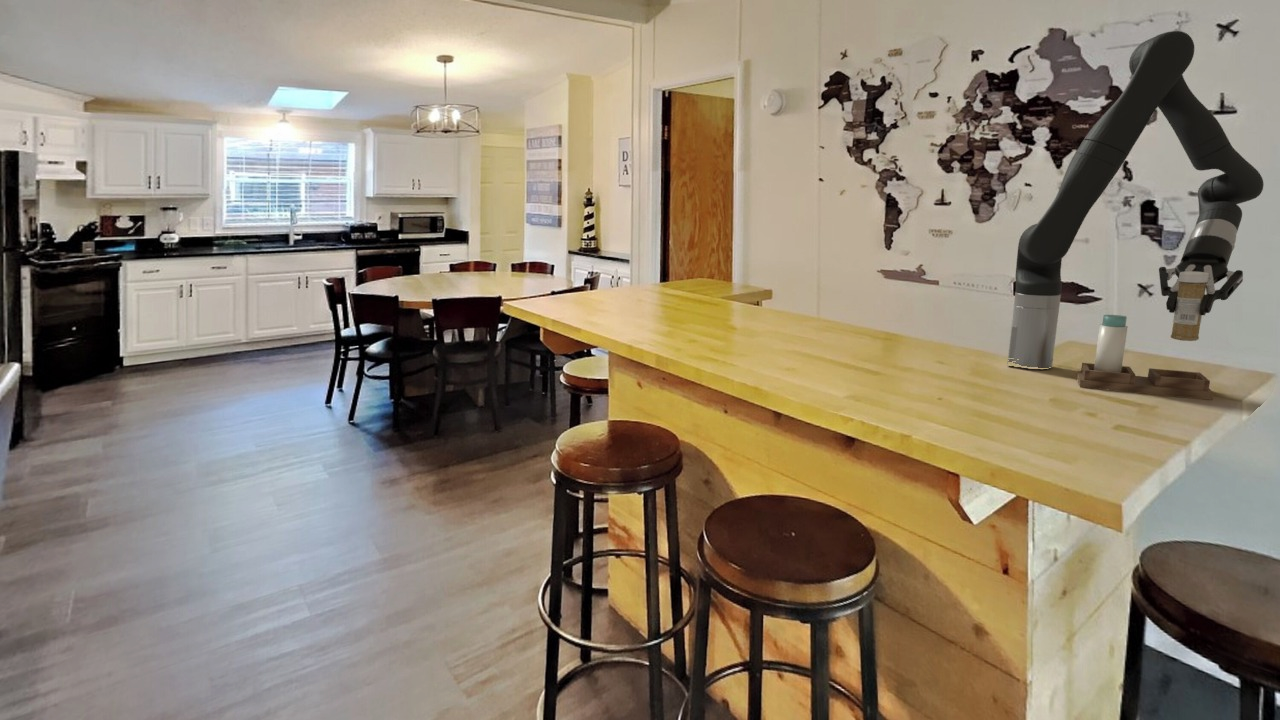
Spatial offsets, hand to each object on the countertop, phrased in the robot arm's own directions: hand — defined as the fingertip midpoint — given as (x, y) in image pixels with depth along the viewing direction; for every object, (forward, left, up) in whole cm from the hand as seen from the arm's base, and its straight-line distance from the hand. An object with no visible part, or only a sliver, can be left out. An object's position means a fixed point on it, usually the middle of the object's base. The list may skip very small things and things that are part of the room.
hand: (1186, 311), depth 138 cm
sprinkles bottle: (+1, +2, -6) cm, 6 cm away
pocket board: (-5, +2, -17) cm, 17 cm away
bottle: (-11, +2, -15) cm, 19 cm away
